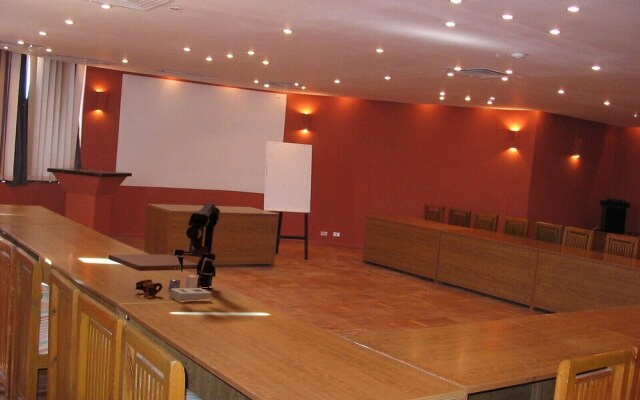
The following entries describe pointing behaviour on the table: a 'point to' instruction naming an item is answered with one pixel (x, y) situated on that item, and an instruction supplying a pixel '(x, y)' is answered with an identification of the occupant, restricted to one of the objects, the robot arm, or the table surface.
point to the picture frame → (152, 261)
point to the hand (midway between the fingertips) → (191, 273)
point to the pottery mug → (148, 287)
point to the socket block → (189, 294)
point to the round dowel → (174, 284)
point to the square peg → (190, 282)
